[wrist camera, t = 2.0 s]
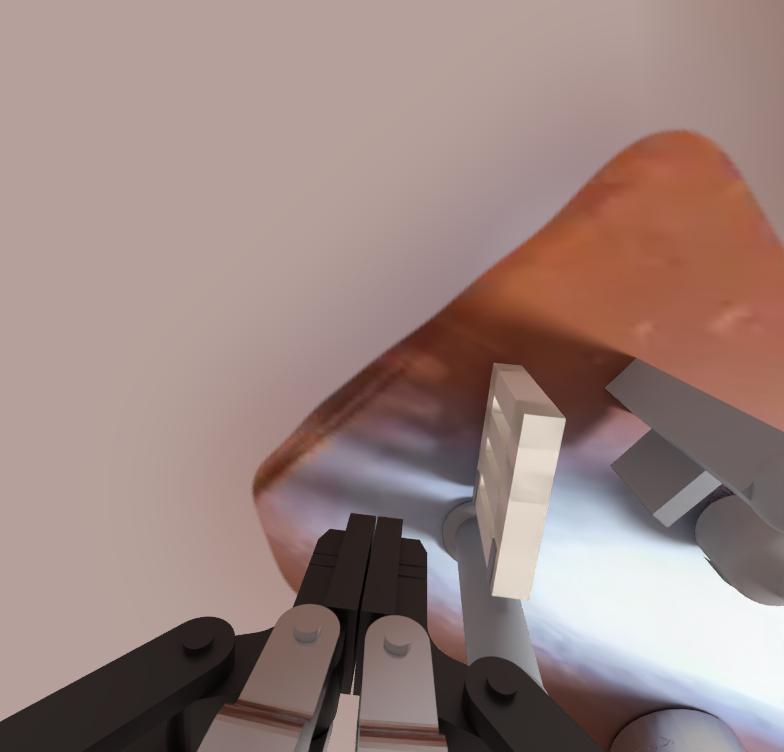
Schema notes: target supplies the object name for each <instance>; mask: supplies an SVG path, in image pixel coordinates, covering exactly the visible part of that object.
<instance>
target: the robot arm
mask: <svg viewBox="0 0 784 752" xmlns="http://www.w3.org/2000/svg"><path fill="white" fill-rule="evenodd" d="M402 524H403V519H396V518H388V517H380V516H378V519H377V524H376V516H371V515H363V514H354V513H351V514H350V517H349V521H348V524H347V528H346V531H343V530H335V529H329V530H328V531H327V532H326V533H325V534H324V535H323V536H321V537H320V538H319V539H318V542H317V544H316V547H315V550H314V552H313V555H312V558H311V560H310V563H309V566H308V568H307V571H306V574H305V576H304V579H303V582H302V584H301V587H300V590H299V592H298V595H297V598H296V601H295V603H294V606H293V608H291V609H290V610H288V611H286V612H285V613H284V614H283V615H282V616H281V617H280V618H279V620H278V621H277V623H276V625H275V626H274V627H272V628H270V629H268V630H265V631H262V632H257V633H250V634H243V635H236V636H235V633H234V630H233V628H232V627H231V625H230V624H229V623H228V622H226V621H225V620H223V619H220V618H216V617H200V618H195V619H192V620H189V621H187V622H185V623H183V624H181V625H179V626H177V627H175V628H174V629H172V630H170V631H168V632H166V633H164V634H163V635H161V636H159V637H157V638H155V639H153V640H151V641H150V642H148V643H146V644H144V645H142V646H140V647H138V648H136V649H134V650H133V651H131V652H129V653H127V654H125V655H123V656H121V657H120V658H118V659H116V660H114V661H112V662H110V663H109V664H107V665H105V666H103V667H101V668H99V669H97V670H96V671H94V672H92V673H90V674H88V675H86V676H85V677H82V678H81V679H79V680H77V681H75V682H73V683H71V684H69V685H68V686H66V687H64V688H62V689H60V690H58V691H56V692H54V693H53V694H51V695H49V696H47V697H45V698H44V699H41V700H40V701H38V702H36V703H34V704H32V705H30V706H29V707H27V708H25V709H23V710H21V711H19V712H17V713H16V714H14V715H12V716H10V717H8V718H6V719H4V720H3V721H1V722H0V752H326V751H327V747H328V743H329V740H330V736H331V733H332V727H333V720H334V718H335V715H336V712H337V707H338V702H339V697H340V693H342V694H350V692H351V687H352V681H353V674H354V669H355V664H356V669H355V680H354V691H353V695H359V696H360V700H359V710H358V720H357V730H356V743H355V752H604V751H603V750H602V749H601V748H600V747H599V746H598V745H597V744H596V743H595V742H594V741H593V740H592V739H591V738H590V737H589V736H588V735H587V734H586V733H585V732H584V731H583V730H582V729H581V728H580V727H579V726H578V725H577V724H576V723H575V721H574V720H573V719H572V718H571V717H570V716H569V715H568V714H567V713H566V712H565V711H564V710H563V709H562V708H561V707H560V706H559V705H558V704H557V703H556V702H555V701H554V700H553V699H552V698H551V697H550V696H549V695H548V694H547V693H546V692H545V691H544V690H543V689H542V688H541V687H540V686H539V685H538V684H537V683H536V682H535V681H534V680H533V679H532V678H531V677H530V676H529V675H528V674H527V673H526V672H525V671H524V670H523V669H521V668H520V667H519V666H518V665H516V664H515V663H513V662H511V661H509V660H507V659H504V658H500V657H495V656H487V657H482V658H479V659H477V660H475V661H474V662H473V663H472V664H471V665H470V666H467V665H465V664H463V663H461V662H458V661H456V660H454V659H452V658H450V657H448V656H447V655H445V654H444V653H443V652H442V651H440V650H439V649H438V648H437V647H436V645H435V644H434V643H433V641H432V640H431V638H430V636H429V633H428V628H427V552H426V550H425V549H424V547H423V545H422V543H421V542H420V540H415V539H407V538H401V535H402ZM375 525H376V530H375ZM610 752H747V751H746V749H745V747H744V746H743V744H742V743H741V741H740V740H739V738H738V737H737V735H736V734H735V733H734V731H733V730H732V729H731V728H730V727H729V726H728V725H727V724H725V723H724V722H723V721H721V720H720V719H718V718H716V717H714V716H712V715H709V714H706V713H703V712H700V711H694V710H687V709H669V710H663V711H658V712H654V713H651V714H648V715H645V716H642V717H640V718H639V719H637V720H635V721H633V722H632V723H630V724H629V725H628V726H626V727H625V728H624V729H623V730H622V731H621V732H620V733H619V734H618V736H617V737H616V738H615V740H614V742H613V744H612V746H611V749H610Z"/></svg>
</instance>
